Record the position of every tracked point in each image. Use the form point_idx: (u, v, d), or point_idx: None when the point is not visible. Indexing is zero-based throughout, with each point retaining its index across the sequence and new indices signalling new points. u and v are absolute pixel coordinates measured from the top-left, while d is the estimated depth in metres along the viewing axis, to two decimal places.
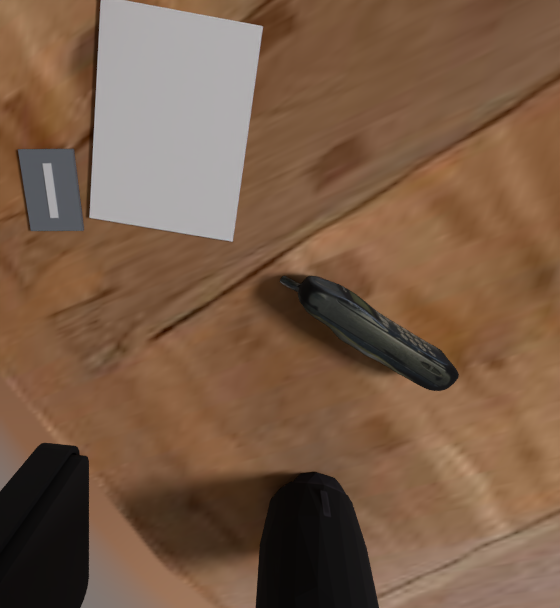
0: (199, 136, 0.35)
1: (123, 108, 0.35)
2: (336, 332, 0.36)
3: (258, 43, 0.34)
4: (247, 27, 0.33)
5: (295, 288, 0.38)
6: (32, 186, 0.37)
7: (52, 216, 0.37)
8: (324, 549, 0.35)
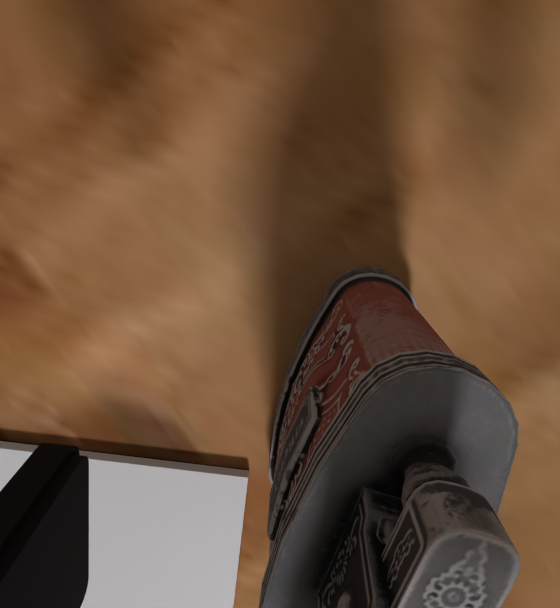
0: None
1: None
2: None
3: None
4: None
5: None
6: None
7: None
8: None
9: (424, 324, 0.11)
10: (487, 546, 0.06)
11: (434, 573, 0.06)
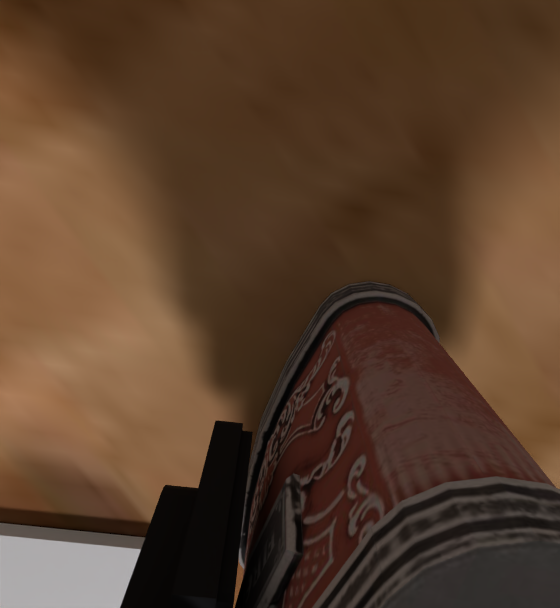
0: None
1: None
2: None
3: None
4: None
5: None
6: None
7: None
8: None
9: (466, 387, 0.07)
10: None
11: None
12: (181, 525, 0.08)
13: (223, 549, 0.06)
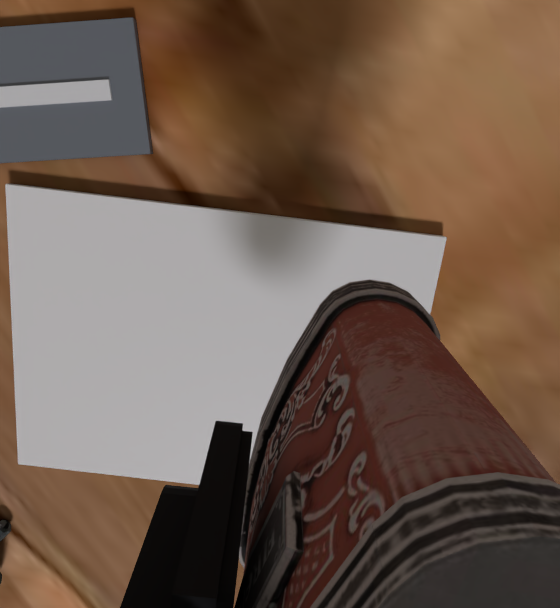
0: (203, 409, 0.19)
1: (241, 271, 0.17)
2: None
3: None
4: None
5: None
6: (51, 47, 0.15)
7: None
8: None
9: (467, 384, 0.07)
10: None
11: None
12: (181, 525, 0.08)
13: (223, 549, 0.06)
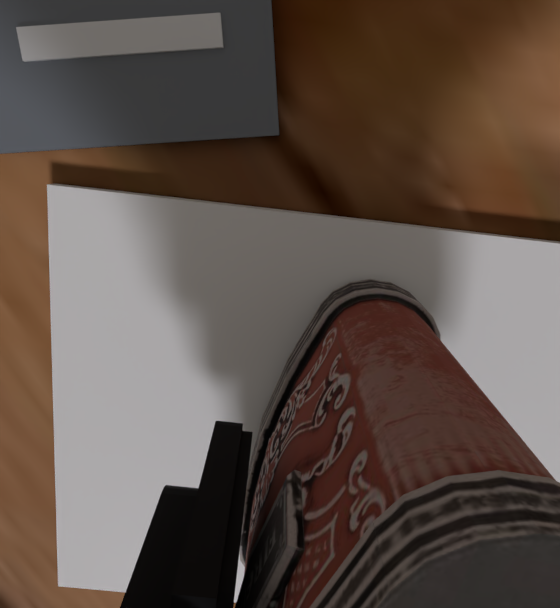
0: None
1: None
2: None
3: None
4: None
5: None
6: None
7: (25, 37, 0.10)
8: None
9: (468, 383, 0.07)
10: None
11: None
12: (181, 525, 0.08)
13: (223, 549, 0.06)
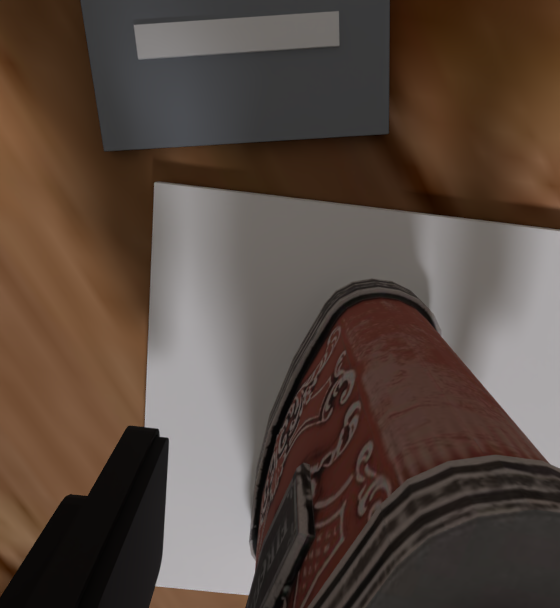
0: None
1: (506, 314, 0.11)
2: None
3: None
4: None
5: None
6: None
7: (141, 35, 0.10)
8: None
9: (467, 376, 0.07)
10: None
11: None
12: None
13: (92, 567, 0.06)
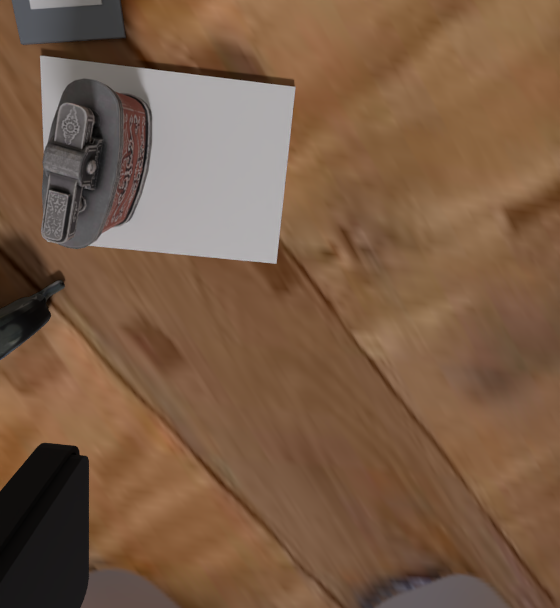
0: (161, 200, 0.31)
1: (180, 109, 0.30)
2: None
3: (260, 260, 0.33)
4: (274, 248, 0.33)
5: (43, 293, 0.33)
6: None
7: (31, 0, 0.28)
8: None
9: (118, 93, 0.25)
10: (75, 107, 0.21)
11: (62, 119, 0.21)
12: None
13: None
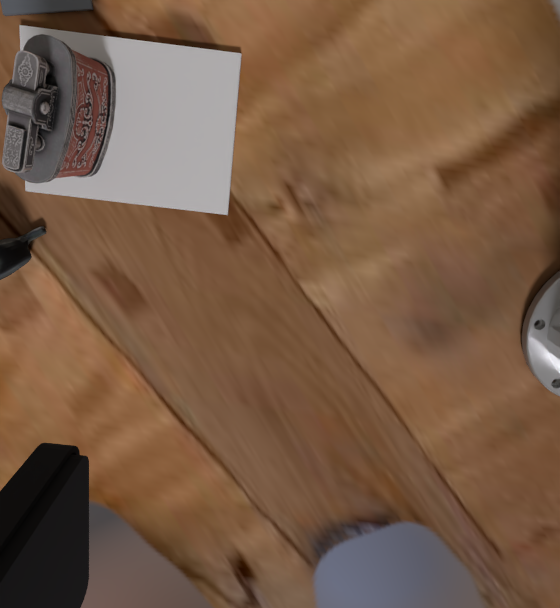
0: (124, 155, 0.35)
1: (139, 72, 0.34)
2: None
3: (213, 211, 0.37)
4: (225, 201, 0.36)
5: (26, 236, 0.37)
6: None
7: None
8: None
9: None
10: (28, 54, 0.25)
11: (18, 64, 0.25)
12: None
13: None
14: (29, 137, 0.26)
